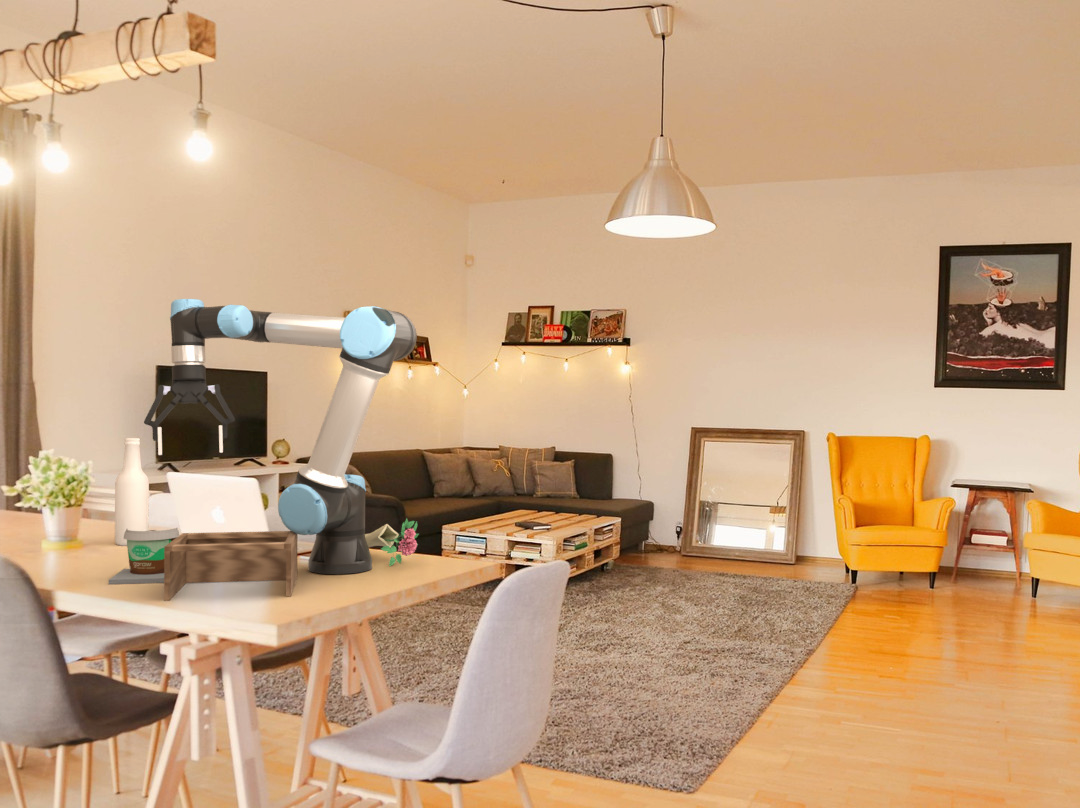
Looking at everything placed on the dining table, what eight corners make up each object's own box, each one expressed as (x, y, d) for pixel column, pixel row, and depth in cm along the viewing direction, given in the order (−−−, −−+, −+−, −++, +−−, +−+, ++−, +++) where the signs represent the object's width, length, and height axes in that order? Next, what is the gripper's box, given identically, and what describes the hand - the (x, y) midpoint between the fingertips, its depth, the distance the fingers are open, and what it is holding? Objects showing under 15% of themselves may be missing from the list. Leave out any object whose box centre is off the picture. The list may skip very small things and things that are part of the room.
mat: (186, 571, 224) (186, 567, 224) (175, 582, 210) (175, 577, 210) (124, 573, 221) (124, 568, 221) (108, 584, 207) (108, 579, 207)
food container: (116, 576, 212) (116, 531, 212) (124, 571, 218) (124, 528, 218) (173, 575, 213) (173, 531, 213) (179, 570, 219) (179, 527, 219)
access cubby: (297, 578, 215) (297, 530, 215) (291, 596, 195) (291, 543, 195) (182, 582, 210) (182, 533, 210) (164, 600, 191) (164, 546, 190)
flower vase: (368, 579, 254) (437, 568, 228) (327, 570, 247) (393, 558, 221) (375, 537, 258) (444, 521, 232) (335, 527, 252) (401, 509, 225)
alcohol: (123, 541, 271) (123, 437, 271) (153, 541, 271) (154, 437, 271) (109, 546, 262) (109, 438, 262) (140, 546, 262) (141, 438, 262)
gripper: (242, 364, 231) (245, 450, 231) (132, 366, 223) (135, 455, 222) (244, 363, 224) (246, 451, 224) (130, 364, 216) (133, 456, 215)
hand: (191, 453), depth 223 cm, fingers open, 13 cm apart
